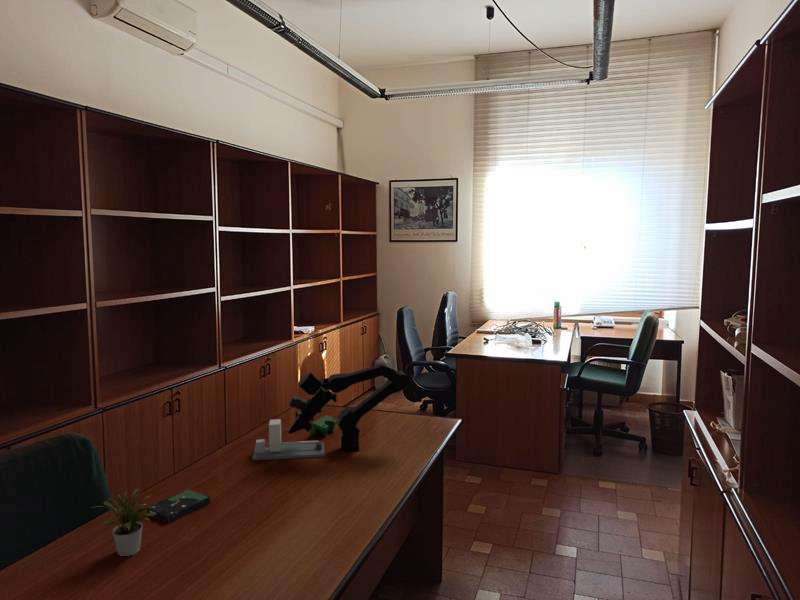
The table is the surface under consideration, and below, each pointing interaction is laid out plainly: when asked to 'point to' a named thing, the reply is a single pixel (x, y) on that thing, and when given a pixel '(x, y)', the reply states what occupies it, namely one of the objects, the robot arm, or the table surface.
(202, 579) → the table surface
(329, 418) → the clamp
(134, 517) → the house plant
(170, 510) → the disk drive
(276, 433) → the stepped pale block
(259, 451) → the flat grey panel
